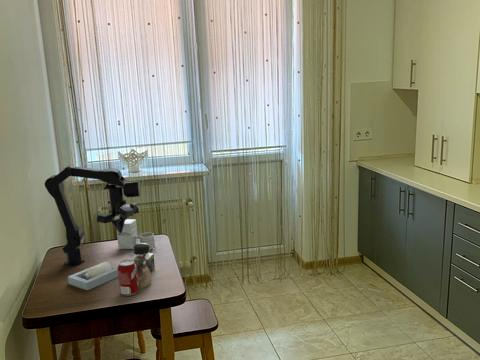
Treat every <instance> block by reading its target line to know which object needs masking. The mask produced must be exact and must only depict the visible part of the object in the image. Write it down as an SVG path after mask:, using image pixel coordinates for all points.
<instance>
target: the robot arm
mask: <svg viewBox="0 0 480 360" xmlns="http://www.w3.org/2000/svg"><path fill="white" fill-rule="evenodd" d="M69 177H75V178H83V179H84V178H85V179H92V180H99V181H101V182H103V183H105V186H104V187H103V190H108V195H109V200H108V202H107V204H109V205H110V209H109V210H108V212H109V213H101V214H98V215H97V216H96V221H97V223H101V224H108V223H112V224H113V226H114V228H115V229H116V232H117V231H118V232H119V233H122V230H123V226H124V222H125V220H126V219H130V218H129V217H133V216H134V215H135V214H138V213H139V212H140V211H139V206H137V204H136V203H135V202H133V203H131V204H129V203H128V204H127V200H126V199H124V197H126V198H137V197H138V198H141V194H142V193H141V191H142V190H141V187H140V186H141V185H140V182H139V180H135V181H128V180H127V179H125V177H124V176H123V175H122V172H121V170H120V169H119V168H105V169H103V168H102V169H98V168H90V167H81V166H74V165H67V166H65V167H64V168H63V169H62V171H60V172H59V173H58V174H53V175H51V176H50V177H48V178H47V179H46V180H45V182H44V187H45V189H46V190H47V192H48V194H49V195H50V197H52V198H53V199H54V202H55V205H56V207H57V210H58V212H59V215H60V217H61V220H62V223H63V225H64V227H65V238H66V244H65V245H64V246H63V248H62V251H63V253H65V256H66V257H65V258H66V261H64V262H63V264H64V265H68V266H71V267H74V266H77V265H78V264H82V263H84V262H85V259H82V253H81V249H80V246H81V244H82V243H83V242H84V240H85V236H86V233H85V232H84V227H83V226H82V225H81V226H79V225H77V223H76V221H75V218H74V216H73V214H72V210H71V208H70V206H69V203H68V200H67V197H66V195H65V184H64V181H65V180H67V179H68V178H69Z"/></svg>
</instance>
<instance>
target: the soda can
mask: <svg viewBox="0 0 480 360" xmlns="http://www.w3.org/2000/svg"><path fill="white" fill-rule="evenodd" d="M117 267H118V268H117ZM117 267H116V268H117V269H118V277H117V278H118V285H119V292H120V294H121V295H123V296H126V297H129V296H134V295H135V294H137V293H138V292H139V291H140V288H139V286H138V277H137V267H136V264H135V263H134V261H133V260H131V259H124V260H120V261H119V262H118V266H117Z"/></svg>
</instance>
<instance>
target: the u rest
mask: <svg viewBox="0 0 480 360" xmlns="http://www.w3.org/2000/svg"><path fill="white" fill-rule="evenodd" d="M101 263H102V262H101ZM101 263H97V264H96V265H99V264H101ZM96 265H93V266H91V267H94V266H96ZM91 267H88V268H86V269H85V268H84V270H80V271H79V272H75V273H74V274H70V275H69V276H67V281H68V282H67V283H68V284H69V285H70V286H74V287H76V288H78V289H82V290H86V291H90V290H92V289H95V288H96V287H98V286H101V285H103V284H105V283H107V282H110V281H112V280H114V279H116V278H118V269H117V268H118V266H117V267H115V268H113V269H112V268H111V270H110V271H108V272H105V273H103V274H101V275H98V276H96V277H94V278H91V279H89V280H88V279H83V278H81V275H82V274H86V270H87V269H89V268H91Z"/></svg>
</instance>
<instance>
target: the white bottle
mask: <svg viewBox="0 0 480 360" xmlns="http://www.w3.org/2000/svg"><path fill="white" fill-rule="evenodd" d="M98 264H99V265H98ZM98 264H96V266H95V265H93V266H94V267H93V266H91V268H90V267H88V268H89V269H88V268H86V269H87V270H86V274H82V275H81V278H83V279H86V280H89V279H91V278H94V277H96V276H98V275H101V274H103V273H105V272H108V271H110V270H112V265H111V264H110V262H109V261H103V262H101V264H100V263H98Z"/></svg>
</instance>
